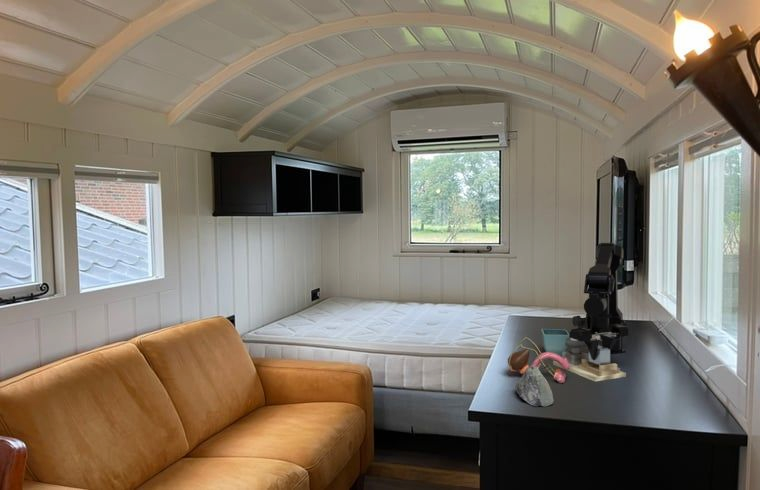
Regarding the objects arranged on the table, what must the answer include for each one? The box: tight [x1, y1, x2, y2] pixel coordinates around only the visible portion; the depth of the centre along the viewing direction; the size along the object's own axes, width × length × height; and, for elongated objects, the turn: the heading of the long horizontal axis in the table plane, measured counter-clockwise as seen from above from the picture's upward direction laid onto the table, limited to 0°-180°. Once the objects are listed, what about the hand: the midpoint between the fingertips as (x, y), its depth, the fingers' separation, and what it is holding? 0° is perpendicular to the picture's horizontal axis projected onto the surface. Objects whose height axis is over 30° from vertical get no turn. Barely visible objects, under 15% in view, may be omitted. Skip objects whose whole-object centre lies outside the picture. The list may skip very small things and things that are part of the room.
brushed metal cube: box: [588, 344, 611, 365], centre depth 169 cm, size 4×5×5 cm
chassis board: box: [552, 350, 627, 382], centre depth 174 cm, size 12×20×4 cm, turn 19°
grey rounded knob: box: [565, 338, 587, 355], centre depth 180 cm, size 6×6×5 cm
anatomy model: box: [507, 336, 570, 384], centre depth 167 cm, size 11×15×17 cm
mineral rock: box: [514, 365, 554, 407], centre depth 149 cm, size 13×11×10 cm
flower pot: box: [541, 328, 570, 357], centre depth 191 cm, size 9×9×9 cm
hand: (599, 359), depth 169 cm, fingers closed on brushed metal cube, 4 cm apart
